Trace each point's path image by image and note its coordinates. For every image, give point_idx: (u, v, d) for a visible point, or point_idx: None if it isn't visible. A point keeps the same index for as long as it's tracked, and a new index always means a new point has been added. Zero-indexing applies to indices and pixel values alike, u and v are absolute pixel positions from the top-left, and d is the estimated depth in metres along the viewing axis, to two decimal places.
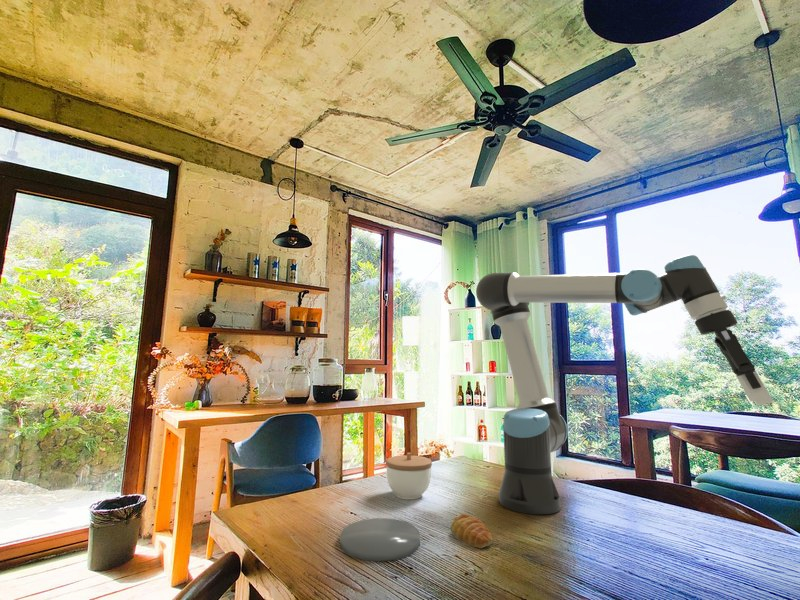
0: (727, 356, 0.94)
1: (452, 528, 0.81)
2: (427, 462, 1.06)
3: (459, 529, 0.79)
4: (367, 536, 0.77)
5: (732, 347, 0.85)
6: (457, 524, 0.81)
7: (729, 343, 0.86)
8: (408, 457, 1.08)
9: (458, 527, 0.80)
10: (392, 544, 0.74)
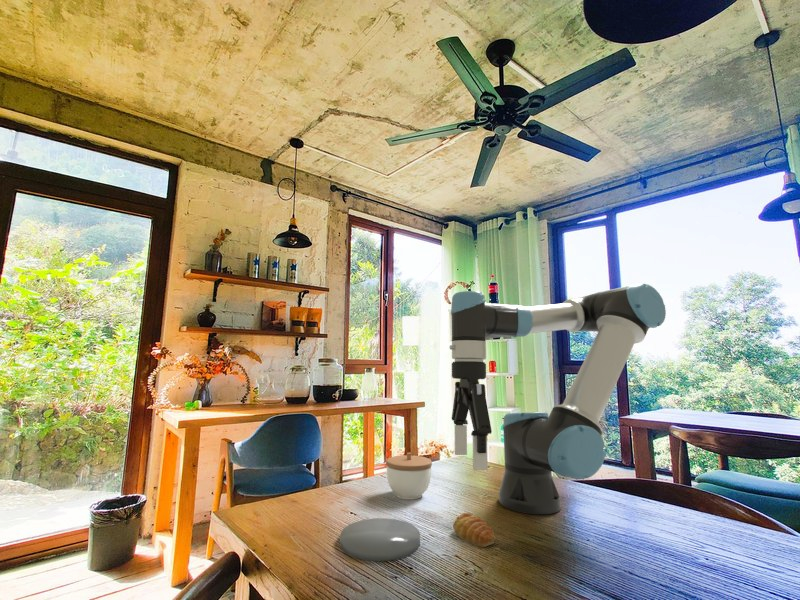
0: None
1: (455, 527, 0.82)
2: (427, 462, 1.06)
3: (462, 528, 0.80)
4: (367, 536, 0.77)
5: None
6: (460, 523, 0.81)
7: None
8: (408, 457, 1.08)
9: (461, 526, 0.81)
10: (392, 544, 0.74)
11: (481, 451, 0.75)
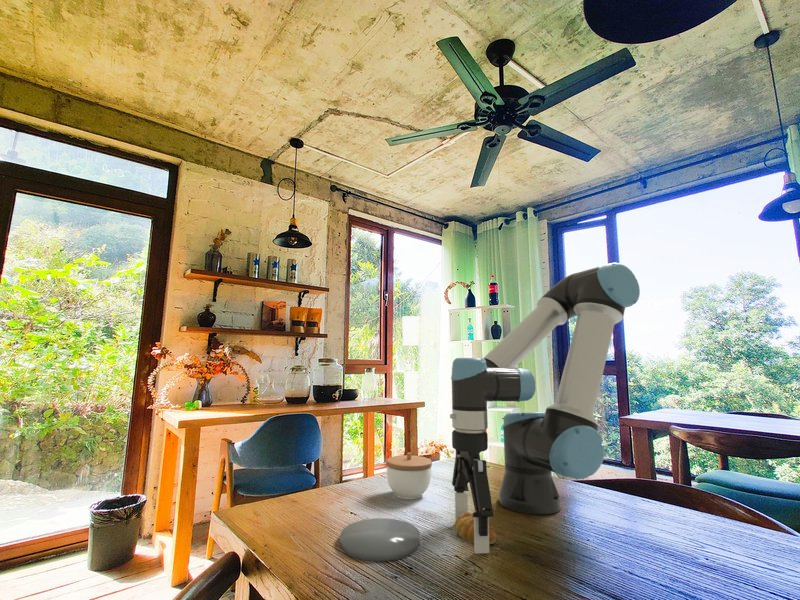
0: None
1: (456, 527, 0.82)
2: (427, 462, 1.06)
3: (463, 528, 0.80)
4: (367, 536, 0.77)
5: None
6: (461, 523, 0.81)
7: None
8: (408, 457, 1.08)
9: (462, 525, 0.81)
10: (392, 544, 0.74)
11: (483, 534, 0.73)
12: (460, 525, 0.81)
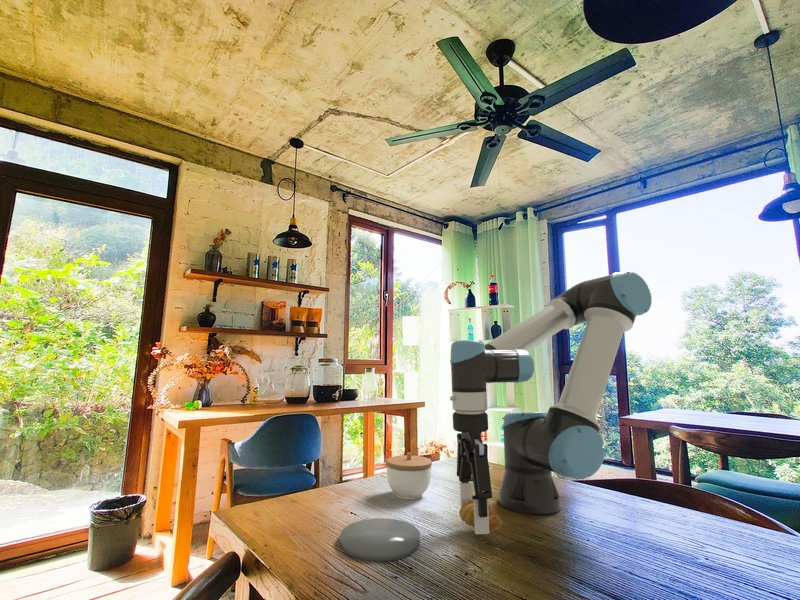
0: None
1: (461, 514, 0.82)
2: (427, 462, 1.06)
3: (468, 515, 0.80)
4: (367, 536, 0.77)
5: None
6: (466, 510, 0.82)
7: None
8: (408, 457, 1.08)
9: (467, 512, 0.81)
10: (392, 544, 0.74)
11: (482, 515, 0.75)
12: (465, 512, 0.81)
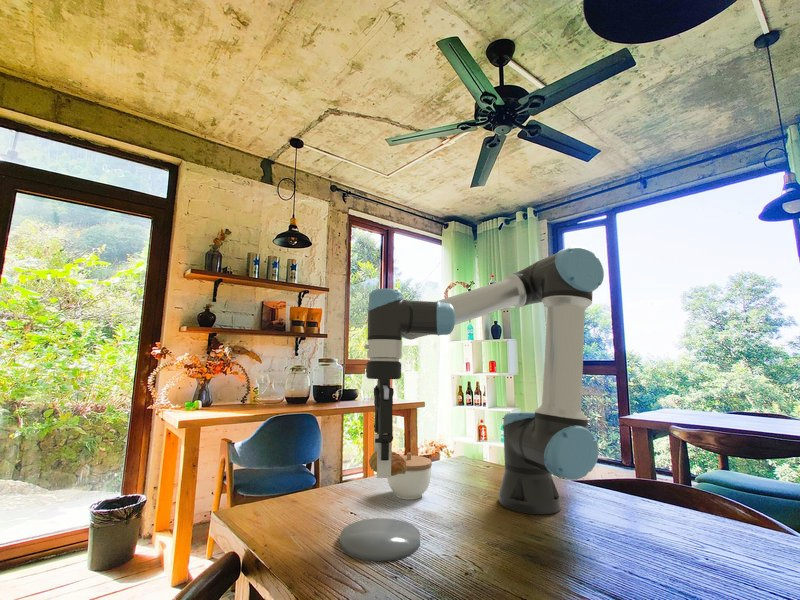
0: None
1: (370, 461, 0.82)
2: (427, 462, 1.06)
3: (375, 461, 0.80)
4: (367, 536, 0.77)
5: None
6: (375, 457, 0.81)
7: None
8: (408, 457, 1.08)
9: (375, 459, 0.80)
10: (392, 544, 0.74)
11: (383, 458, 0.75)
12: (373, 459, 0.81)
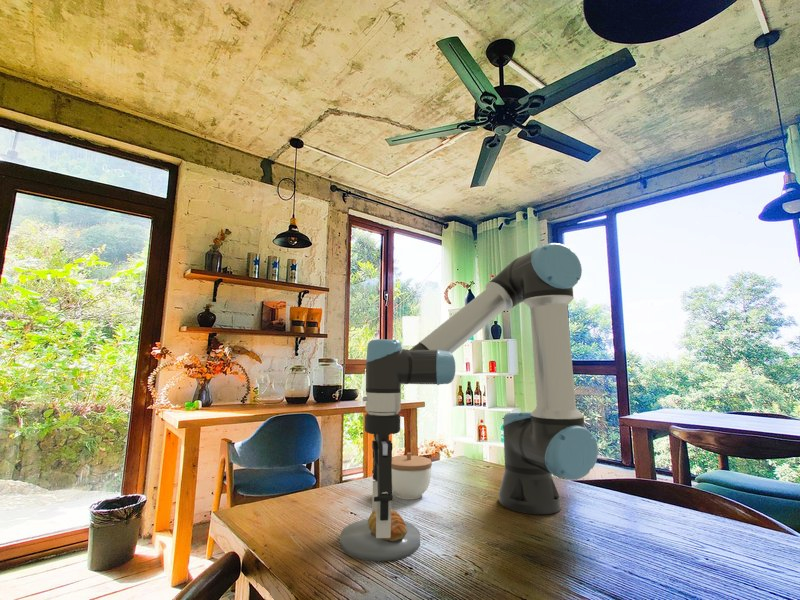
0: None
1: (369, 522, 0.80)
2: (427, 462, 1.06)
3: (374, 523, 0.78)
4: (367, 536, 0.77)
5: None
6: (374, 518, 0.79)
7: None
8: (408, 457, 1.08)
9: (374, 520, 0.78)
10: (392, 544, 0.74)
11: (383, 518, 0.72)
12: (372, 520, 0.79)
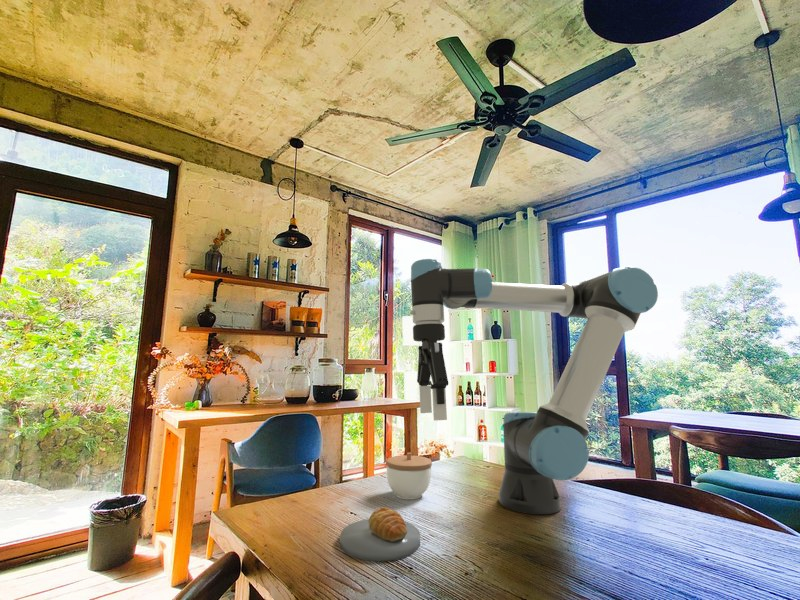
0: None
1: (369, 522, 0.80)
2: (427, 462, 1.06)
3: (374, 523, 0.78)
4: (367, 536, 0.77)
5: None
6: (374, 518, 0.79)
7: None
8: (408, 457, 1.08)
9: (375, 520, 0.78)
10: (392, 544, 0.74)
11: (440, 402, 0.82)
12: (373, 520, 0.79)
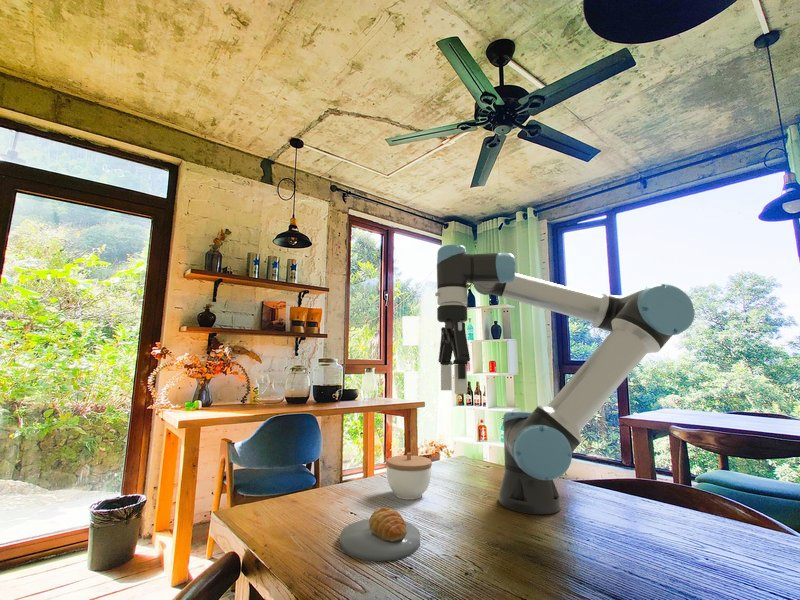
0: None
1: (370, 522, 0.80)
2: (427, 462, 1.06)
3: (375, 523, 0.78)
4: (367, 536, 0.77)
5: None
6: (374, 518, 0.79)
7: None
8: (408, 457, 1.08)
9: (375, 520, 0.78)
10: (392, 544, 0.74)
11: (461, 377, 0.87)
12: (373, 520, 0.79)
